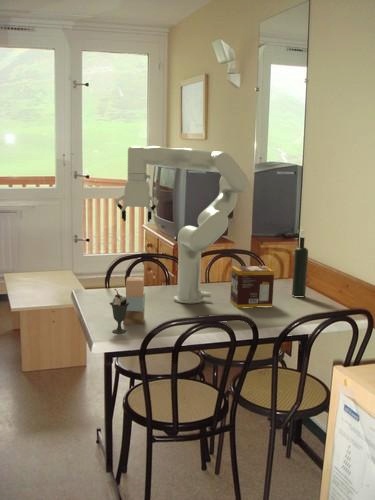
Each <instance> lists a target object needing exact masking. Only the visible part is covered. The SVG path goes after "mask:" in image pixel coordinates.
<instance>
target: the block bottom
mask: <svg viewBox="0 0 375 500" xmlns="http://www.w3.org/2000/svg"><path fill="white" fill-rule="evenodd" d="M144 320H145V308H144V309H143V311H126V317H125V319H124V320H123V321H122V323H123V325H140V326H141V325H143V324H144Z"/></svg>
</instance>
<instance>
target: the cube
mask: <svg viewBox="0 0 375 500" xmlns="http://www.w3.org/2000/svg"><path fill="white" fill-rule="evenodd" d="M144 285H145V277H141V276H139V277H137V276H136V277H135V276H127V277H126V279H125V293H126V297H143V294H144V292H145V291H144V289H145V286H144Z"/></svg>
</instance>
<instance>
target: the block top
mask: <svg viewBox="0 0 375 500" xmlns="http://www.w3.org/2000/svg"><path fill="white" fill-rule="evenodd" d="M123 297H124V298H125V299H126V300H127V302H128V303H129V305H128V306H127V311H143V309H144V310H145V306H146V305H145V298H146V293H144V294H143V297H126V292H125V293H124V295H123Z"/></svg>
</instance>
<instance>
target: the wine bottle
mask: <svg viewBox="0 0 375 500" xmlns="http://www.w3.org/2000/svg"><path fill="white" fill-rule="evenodd" d="M305 238H306V230H305V229H300V231H299V246H298V247H296V248H295V250H294V257H293V274H292V290H291V296H292V295H294V296H305V297H306V291H307V289H306V288H307V277H308V276H307V275H308V258H309V250H308V248H307V247H305V240H306V239H305Z"/></svg>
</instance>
